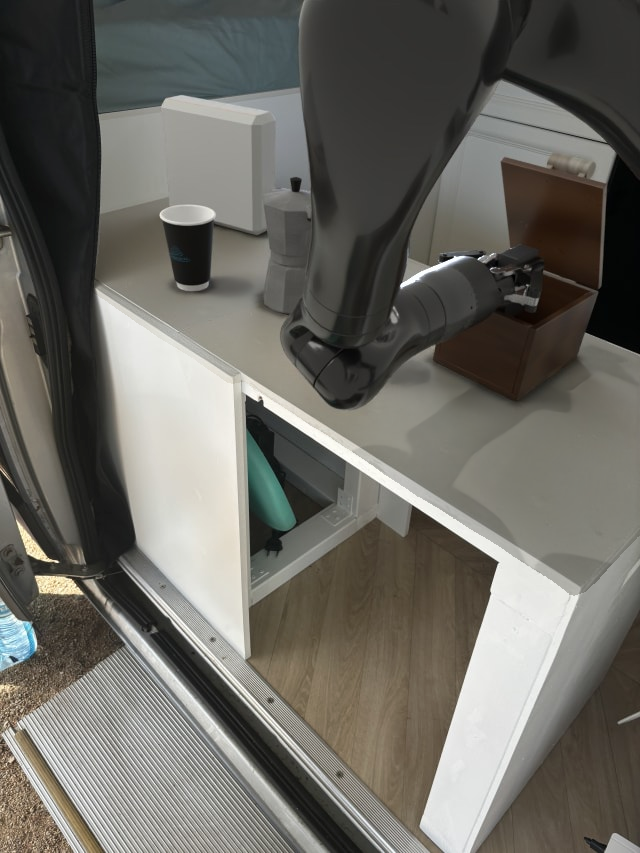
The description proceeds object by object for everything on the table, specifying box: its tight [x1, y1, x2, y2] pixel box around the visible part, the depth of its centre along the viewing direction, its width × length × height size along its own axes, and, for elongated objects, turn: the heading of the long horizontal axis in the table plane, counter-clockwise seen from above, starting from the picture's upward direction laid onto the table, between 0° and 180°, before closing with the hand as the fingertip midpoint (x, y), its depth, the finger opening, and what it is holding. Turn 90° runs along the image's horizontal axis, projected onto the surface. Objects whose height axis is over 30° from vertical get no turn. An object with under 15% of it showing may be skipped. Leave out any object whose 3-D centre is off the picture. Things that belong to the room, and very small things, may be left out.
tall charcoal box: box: [496, 244, 539, 317], centre depth 78 cm, size 2×5×8 cm, turn 135°
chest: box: [432, 271, 599, 402], centre depth 84 cm, size 16×13×10 cm
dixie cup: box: [159, 205, 216, 292], centre depth 97 cm, size 8×8×11 cm
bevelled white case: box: [160, 94, 277, 236], centre depth 118 cm, size 21×8×20 cm, turn 60°
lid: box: [500, 151, 608, 291], centre depth 79 cm, size 16×13×5 cm
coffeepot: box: [262, 176, 311, 315], centre depth 92 cm, size 15×9×18 cm, turn 29°
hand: (528, 261), depth 78 cm, fingers closed on tall charcoal box, 2 cm apart
